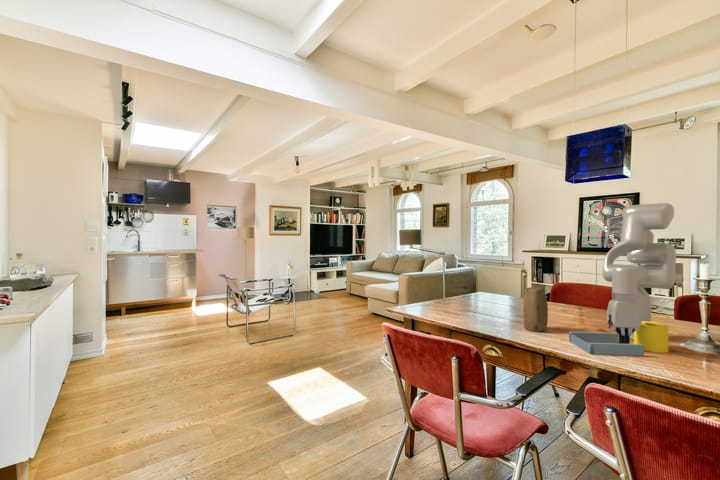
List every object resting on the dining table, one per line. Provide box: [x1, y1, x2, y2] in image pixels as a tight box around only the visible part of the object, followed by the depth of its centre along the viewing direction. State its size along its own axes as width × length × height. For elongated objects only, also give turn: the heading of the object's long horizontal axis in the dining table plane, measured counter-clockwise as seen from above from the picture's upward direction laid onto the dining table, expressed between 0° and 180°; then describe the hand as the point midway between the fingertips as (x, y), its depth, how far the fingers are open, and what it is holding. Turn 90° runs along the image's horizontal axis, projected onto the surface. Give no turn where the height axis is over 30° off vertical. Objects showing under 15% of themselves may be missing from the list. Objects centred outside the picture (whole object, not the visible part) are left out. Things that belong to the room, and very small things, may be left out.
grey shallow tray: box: [568, 331, 645, 357], centre depth 126 cm, size 18×15×4 cm
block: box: [522, 286, 549, 333], centre depth 152 cm, size 11×8×20 cm
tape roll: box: [633, 321, 669, 354], centre depth 126 cm, size 10×10×9 cm
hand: (624, 344), depth 125 cm, fingers closed
